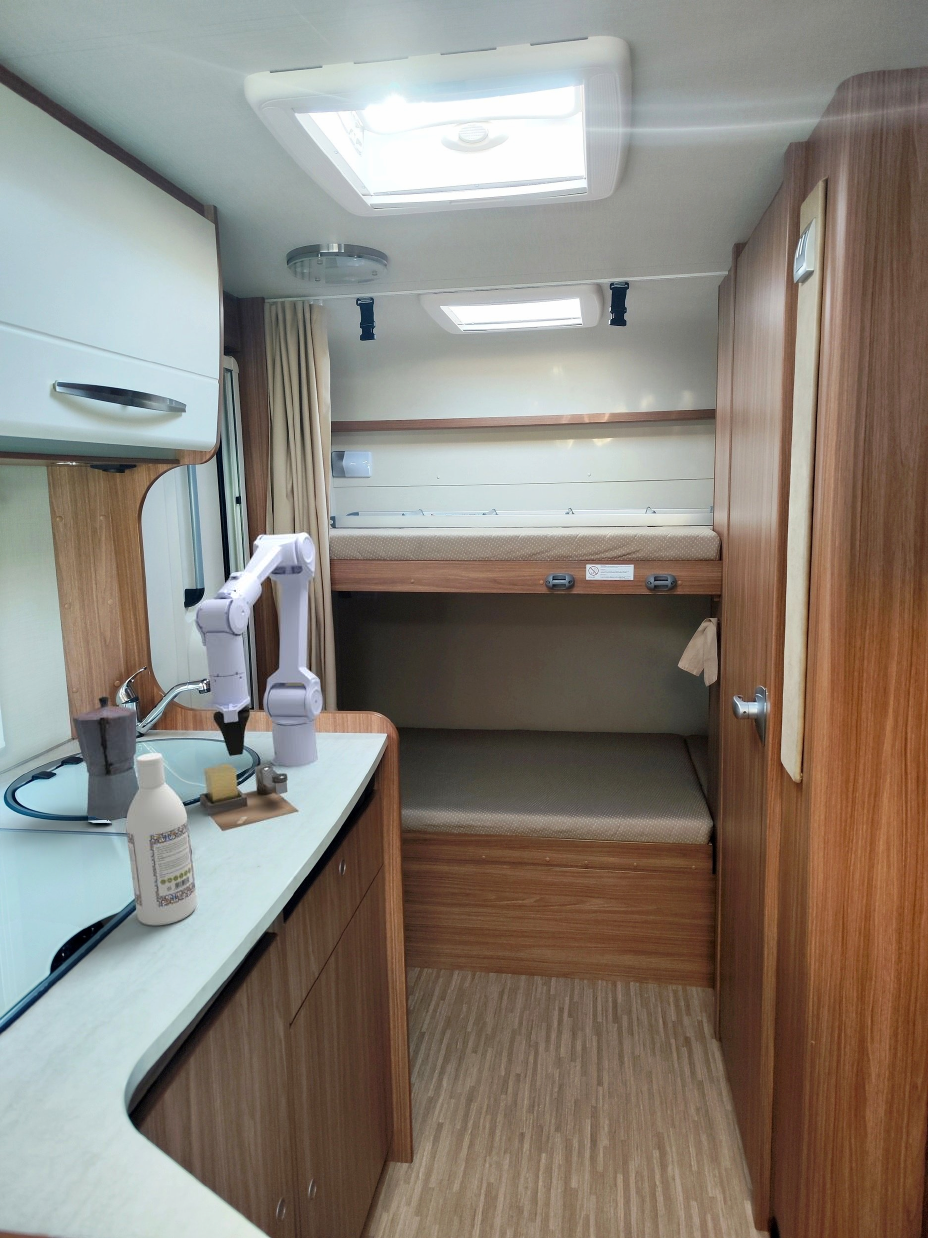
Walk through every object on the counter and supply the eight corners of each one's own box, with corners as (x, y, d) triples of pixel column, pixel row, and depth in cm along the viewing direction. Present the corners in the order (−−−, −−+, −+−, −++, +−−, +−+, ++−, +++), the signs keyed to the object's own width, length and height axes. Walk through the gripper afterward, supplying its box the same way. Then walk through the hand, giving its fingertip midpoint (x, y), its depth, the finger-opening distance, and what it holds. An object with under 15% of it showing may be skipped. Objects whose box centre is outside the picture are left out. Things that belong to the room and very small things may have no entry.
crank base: (201, 809, 131) (199, 794, 131) (271, 792, 137) (270, 778, 137) (223, 837, 119) (221, 820, 119) (299, 817, 125) (298, 801, 125)
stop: (208, 803, 130) (204, 768, 129) (232, 798, 132) (228, 763, 131) (214, 811, 127) (210, 775, 126) (239, 805, 129) (235, 769, 128)
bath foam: (208, 900, 100) (191, 747, 97) (177, 929, 93) (158, 766, 90) (159, 897, 101) (141, 747, 98) (125, 926, 95) (104, 765, 92)
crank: (254, 791, 135) (251, 762, 134) (271, 787, 136) (269, 758, 136) (275, 810, 125) (272, 780, 125) (293, 806, 127) (291, 775, 126)
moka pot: (145, 796, 139) (132, 685, 136) (152, 826, 125) (137, 703, 122) (85, 808, 135) (70, 694, 132) (86, 840, 121) (69, 713, 118)
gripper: (203, 667, 133) (211, 745, 135) (199, 685, 119) (209, 771, 121) (246, 662, 135) (254, 739, 137) (247, 679, 121) (256, 764, 123)
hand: (236, 754), depth 129 cm, fingers closed
